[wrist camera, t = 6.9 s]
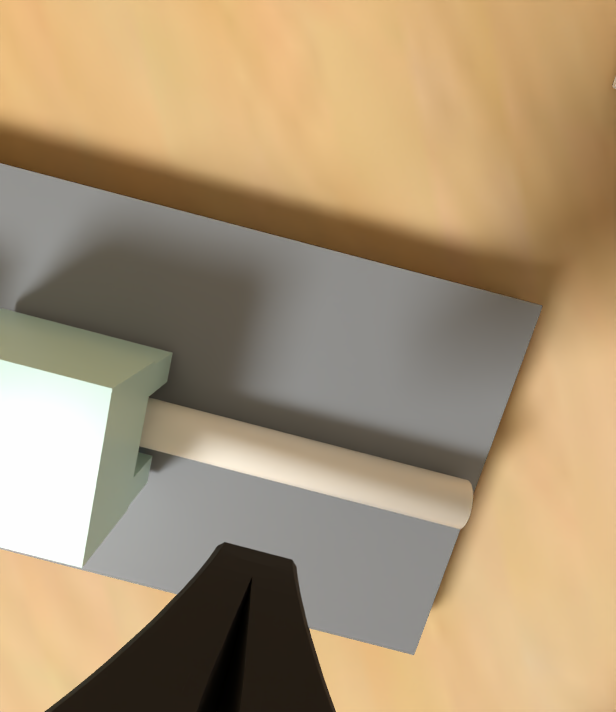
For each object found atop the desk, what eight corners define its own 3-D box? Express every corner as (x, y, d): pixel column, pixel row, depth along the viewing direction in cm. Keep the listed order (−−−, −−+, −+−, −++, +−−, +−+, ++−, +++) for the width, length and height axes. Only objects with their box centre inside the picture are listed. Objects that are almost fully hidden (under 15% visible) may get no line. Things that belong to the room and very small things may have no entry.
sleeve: (173, 349, 14) (112, 388, 10) (146, 485, 15) (82, 567, 11) (3, 305, 14) (-124, 327, 10) (-12, 444, 15) (-133, 513, 11)
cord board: (522, 300, 15) (542, 305, 13) (407, 620, 18) (413, 654, 16) (-114, 133, 15) (-163, 120, 13) (-132, 482, 17) (-174, 504, 16)
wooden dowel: (464, 454, 15) (486, 489, 13) (442, 516, 15) (460, 560, 13) (-139, 297, 15) (-219, 305, 13) (-142, 365, 15) (-220, 384, 13)
